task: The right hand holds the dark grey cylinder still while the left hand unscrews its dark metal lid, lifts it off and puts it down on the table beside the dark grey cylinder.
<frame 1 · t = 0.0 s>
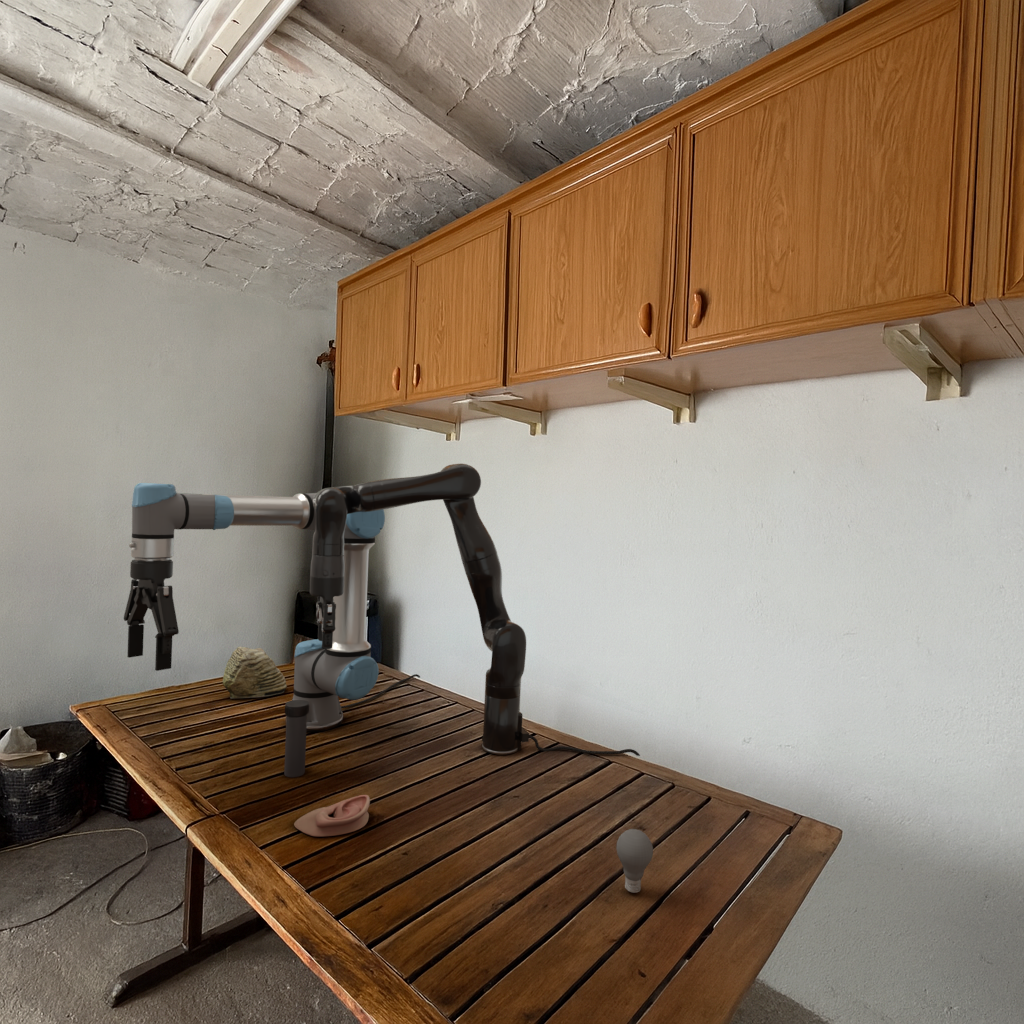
left hand: (148, 662, 129), 28 cm above the table, tool pointing down, fingers open, 13 cm apart
right hand: (324, 644, 146), 29 cm above the table, tool pointing down, fingers open, 8 cm apart
lid: (297, 704, 144), point 16 cm above the table, screwed on, not yet turned
dark grey cylinder: (294, 773, 144), on the table
anatomical model: (332, 823, 123), on the table
light bulb: (632, 891, 106), on the table
fossil: (254, 694, 198), on the table
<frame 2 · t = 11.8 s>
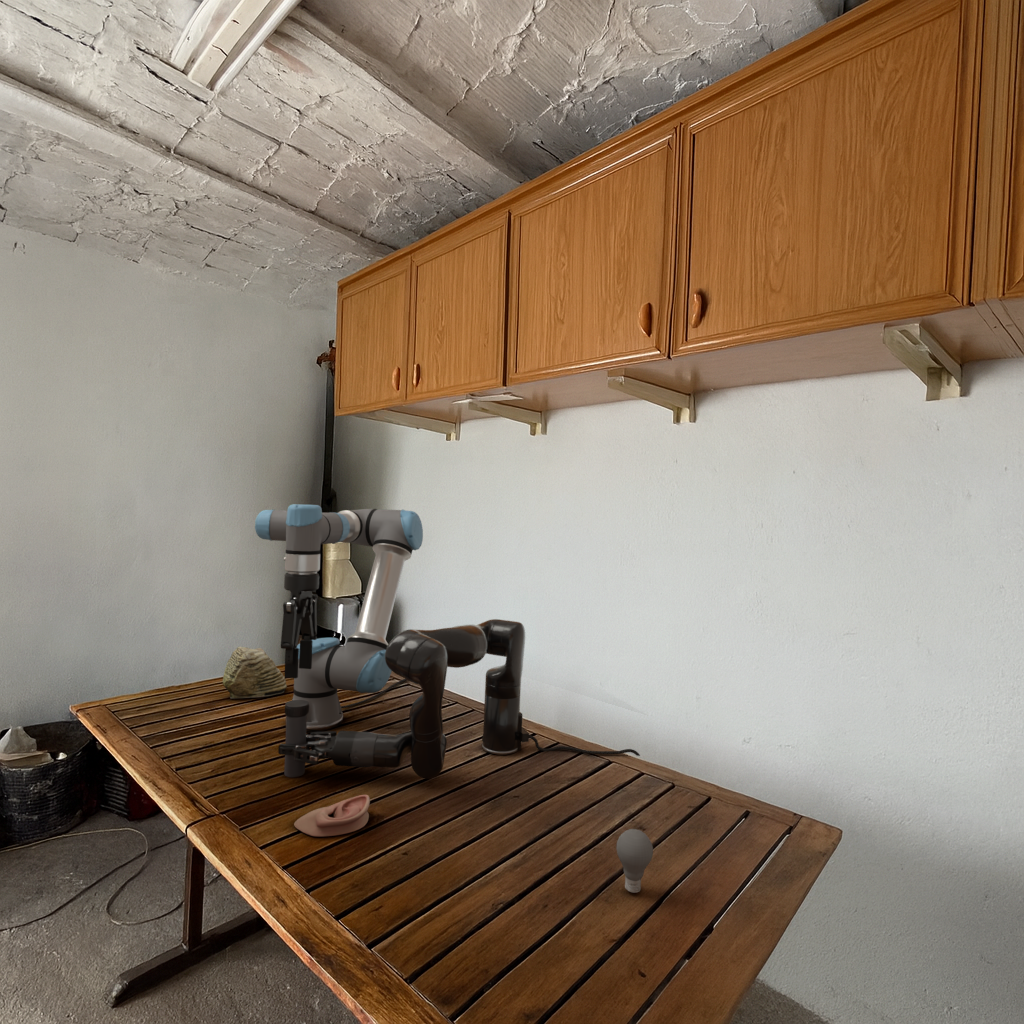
left hand: (298, 672, 144), 23 cm above the table, tool pointing down, fingers open, 7 cm apart
right hand: (284, 744, 144), 6 cm above the table, tool horizontal, fingers closed on dark grey cylinder, 4 cm apart
dark grey cylinder: (294, 773, 144), on the table, touching right hand
everything else where it was.
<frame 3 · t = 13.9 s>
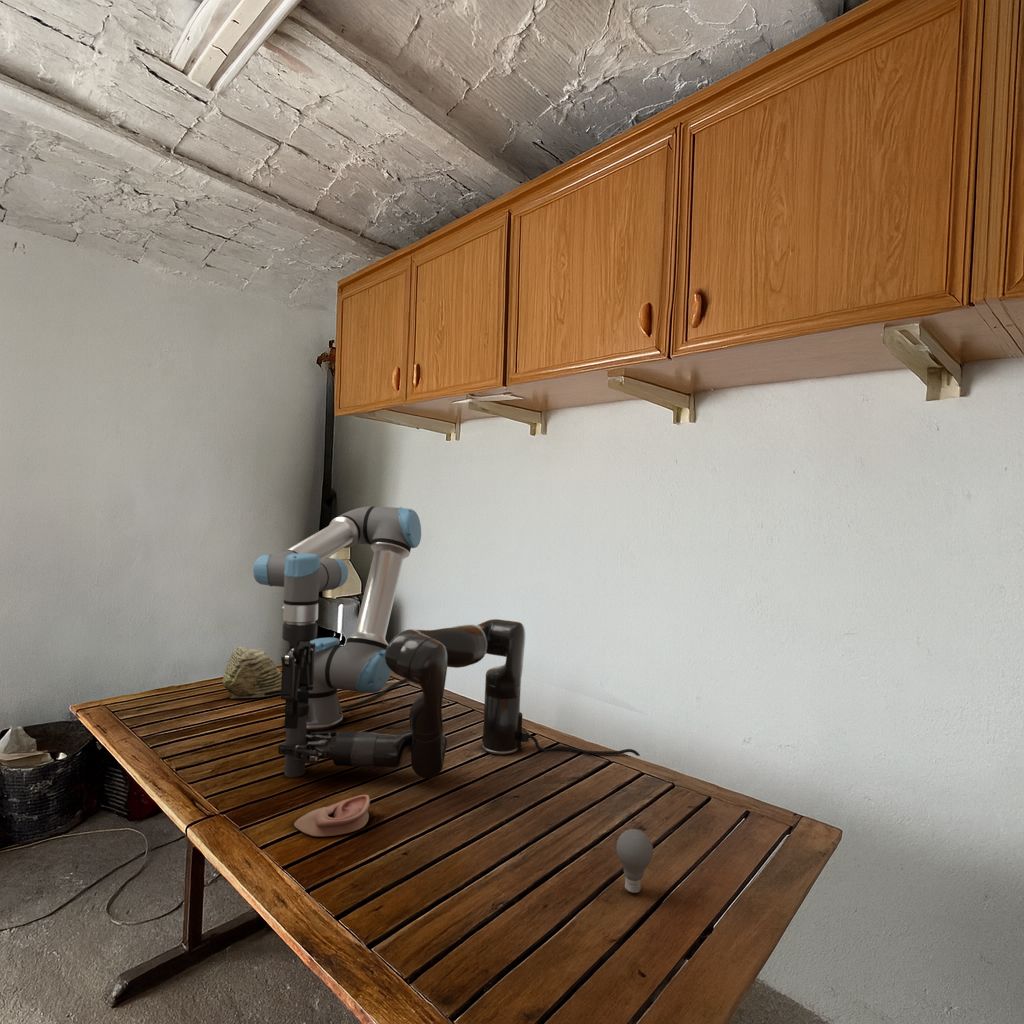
left hand: (296, 723, 144), 11 cm above the table, tool pointing down, fingers closed on lid, 5 cm apart
right hand: (284, 744, 144), 6 cm above the table, tool horizontal, fingers closed on dark grey cylinder, 4 cm apart
lid: (297, 704, 144), point 16 cm above the table, screwed on, not yet turned, touching left hand
dark grey cylinder: (294, 773, 144), on the table, touching right hand
everything else where it was.
when the left hand's fingers open (12 cm above the table, at t = 15.0 s): lid stays where it is, point 16 cm above the table.
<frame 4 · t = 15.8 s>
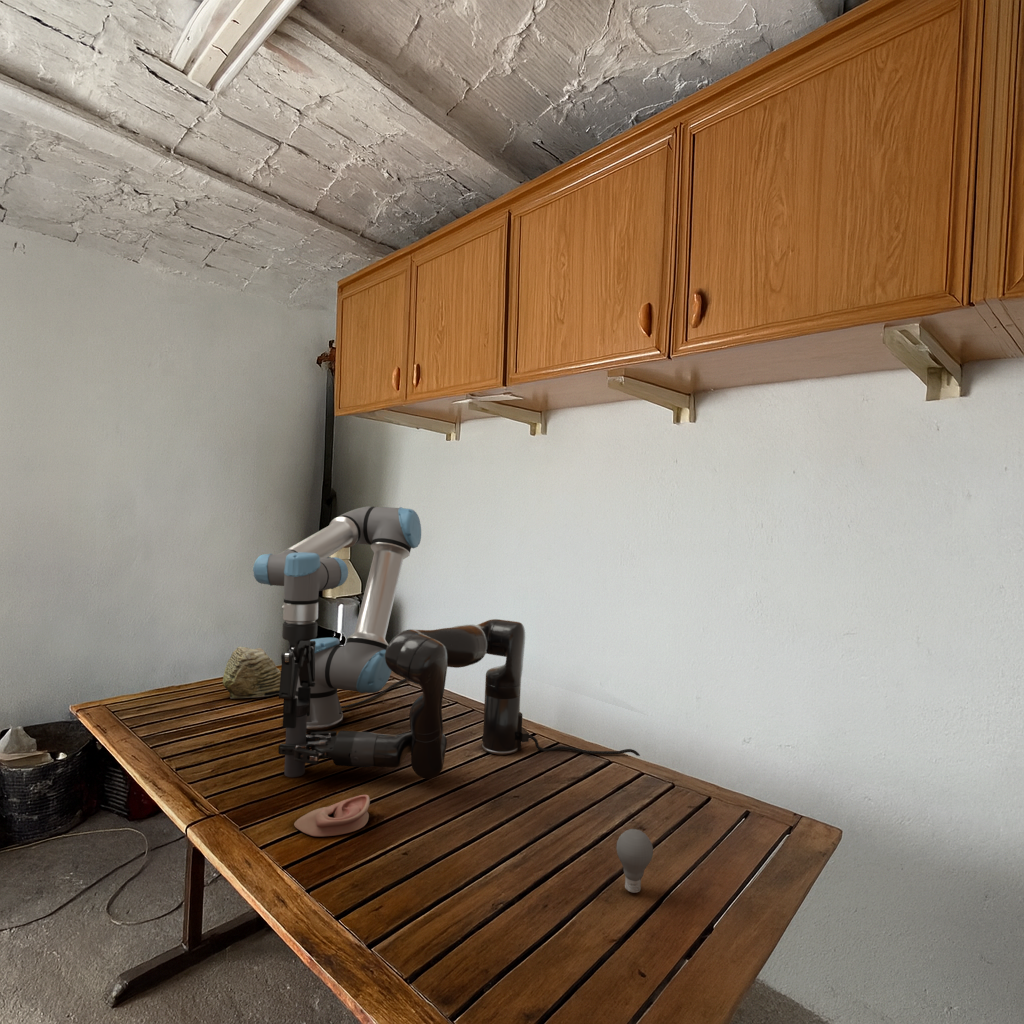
left hand: (296, 721, 144), 12 cm above the table, tool pointing down, fingers open, 7 cm apart
right hand: (284, 744, 144), 6 cm above the table, tool horizontal, fingers closed on dark grey cylinder, 4 cm apart
lid: (297, 703, 144), point 16 cm above the table, turned 65° so far, risen 0.2 cm, still on its thread
dark grey cylinder: (294, 773, 144), on the table, touching right hand
everything else where it was.
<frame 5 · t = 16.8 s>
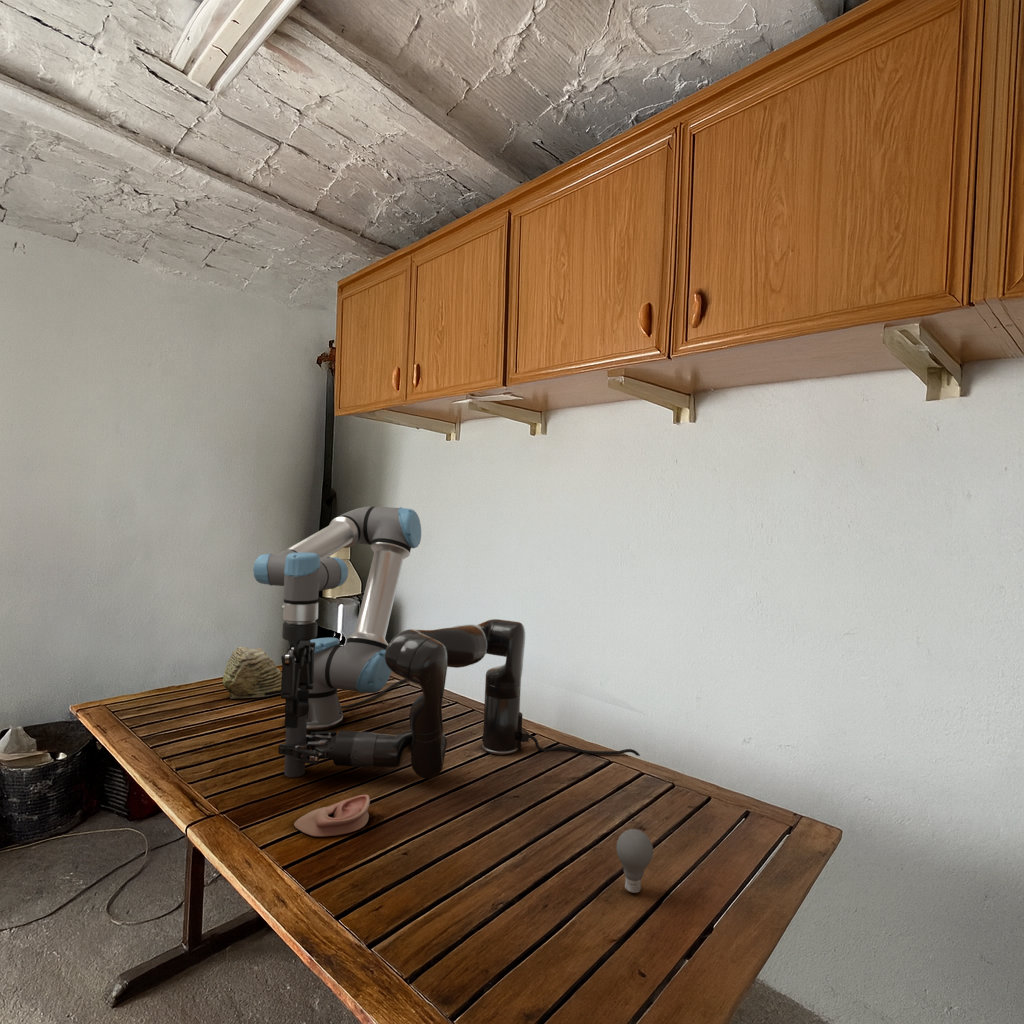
left hand: (296, 722, 144), 12 cm above the table, tool pointing down, fingers closed on lid, 5 cm apart
right hand: (284, 744, 144), 6 cm above the table, tool horizontal, fingers closed on dark grey cylinder, 4 cm apart
lid: (297, 704, 144), point 16 cm above the table, turned 65° so far, risen 0.2 cm, still on its thread, touching left hand
dark grey cylinder: (294, 773, 144), on the table, touching right hand
everything else where it was.
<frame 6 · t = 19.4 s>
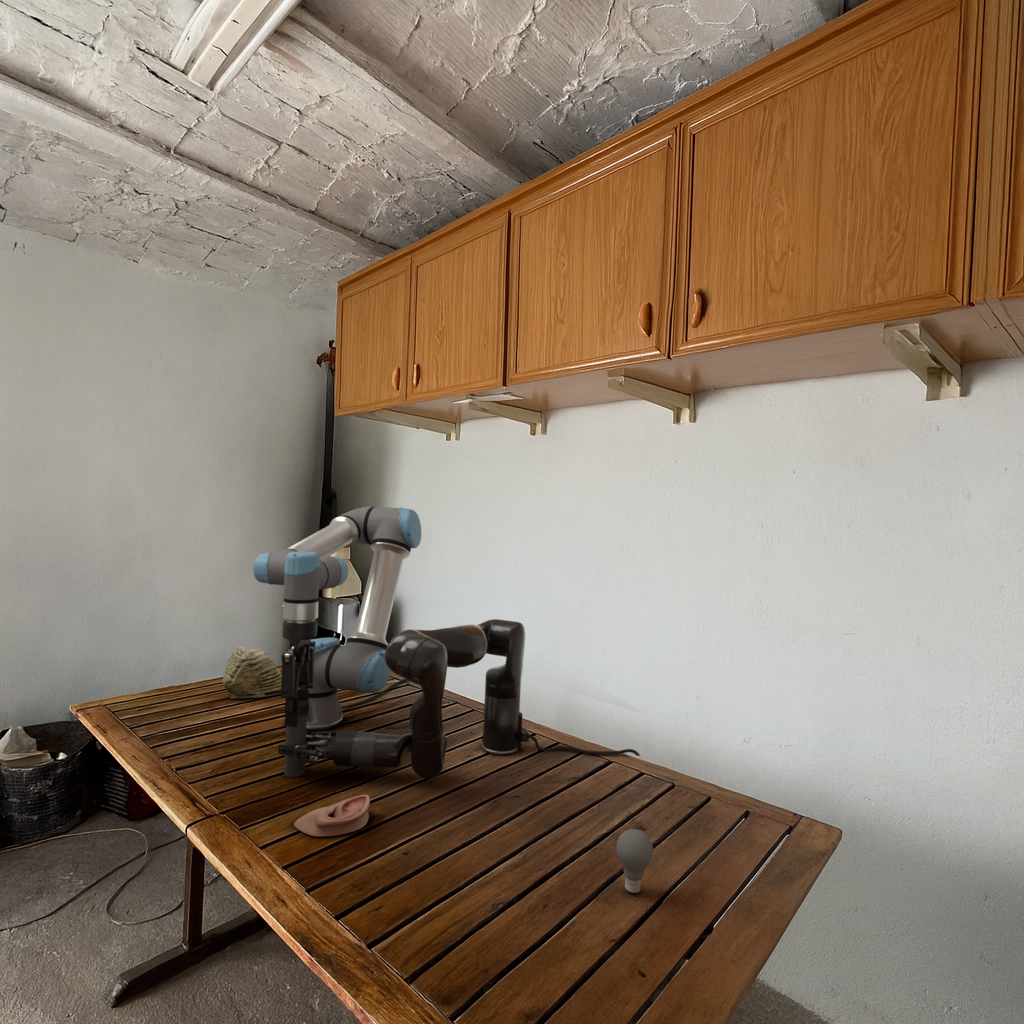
left hand: (296, 721, 144), 12 cm above the table, tool pointing down, fingers closed on lid, 5 cm apart
right hand: (284, 744, 144), 6 cm above the table, tool horizontal, fingers closed on dark grey cylinder, 4 cm apart
lid: (297, 703, 144), point 16 cm above the table, turned 131° so far, risen 0.4 cm, still on its thread, touching left hand
dark grey cylinder: (294, 773, 144), on the table, touching right hand
everything else where it was.
when the left hand's fingers open (0 cm above the table, at t = 25.6 s): lid drops 2 cm, point 2 cm above the table.
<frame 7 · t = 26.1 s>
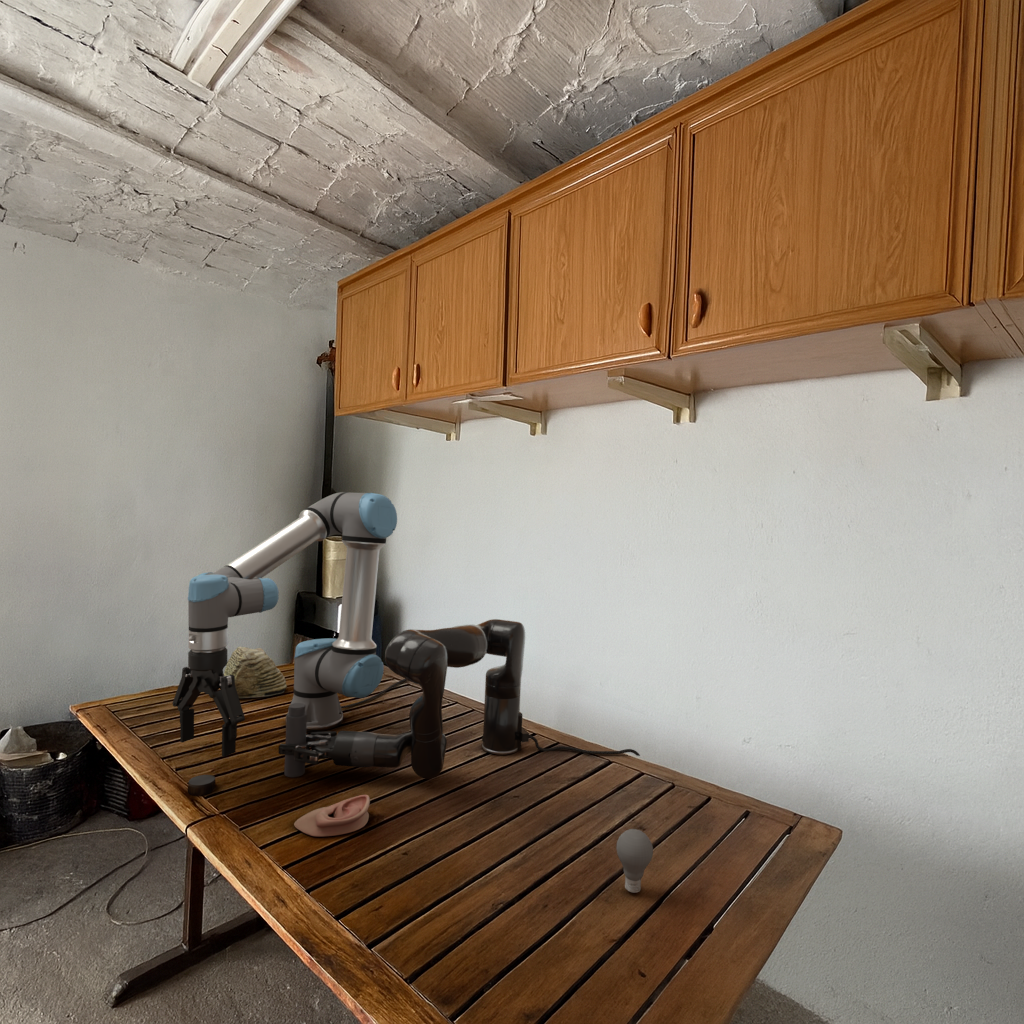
left hand: (207, 747, 135), 9 cm above the table, tool pointing down, fingers open, 13 cm apart
right hand: (284, 744, 144), 6 cm above the table, tool horizontal, fingers closed on dark grey cylinder, 4 cm apart
lid: (201, 781, 134), point 2 cm above the table, off its thread
dark grey cylinder: (294, 773, 144), on the table, touching right hand
everything else where it was.
when the right hand's fingers open (6 cm above the table, at t = 26.2 s): dark grey cylinder stays where it is, on the table.
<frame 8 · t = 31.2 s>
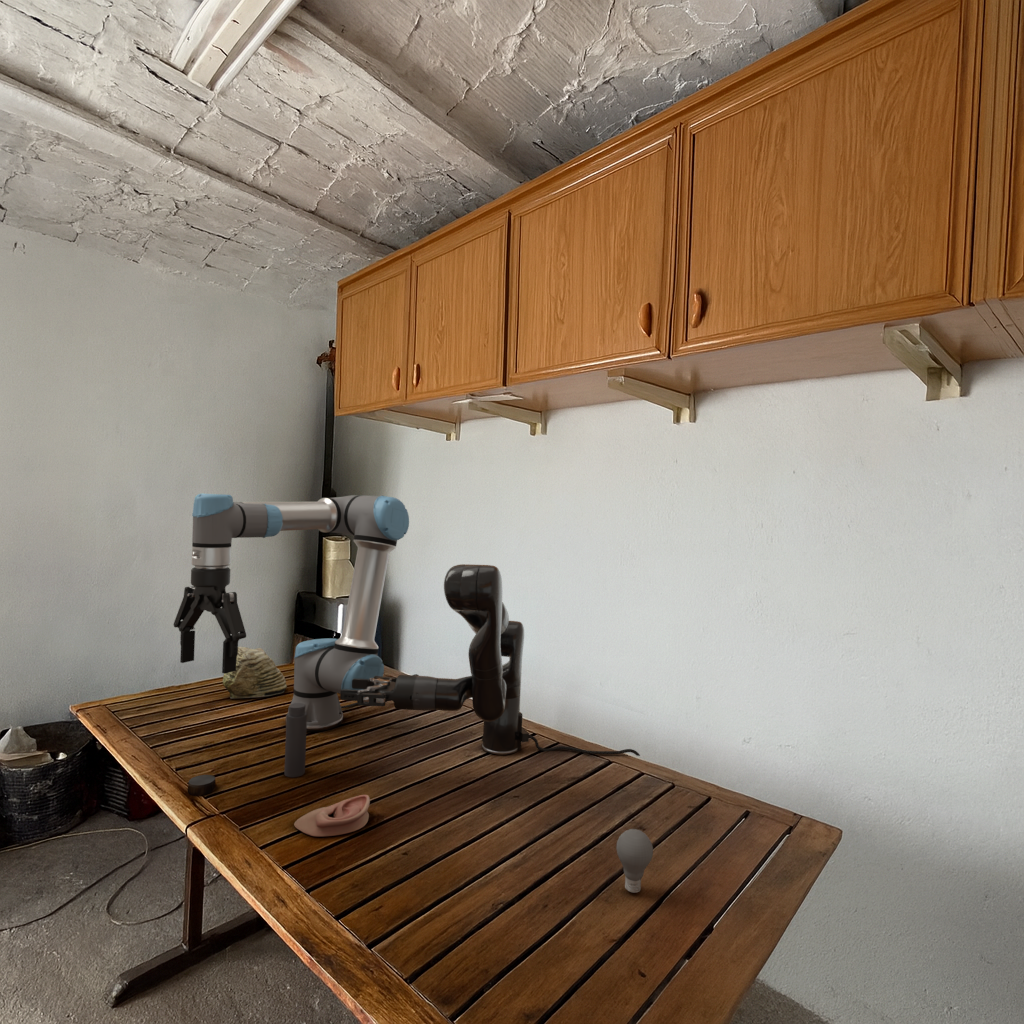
left hand: (207, 666, 134), 26 cm above the table, tool pointing down, fingers open, 13 cm apart
right hand: (346, 688, 144), 20 cm above the table, tool horizontal, fingers open, 8 cm apart
dark grey cylinder: (294, 773, 144), on the table
everything else where it was.
at the end: lid came off its thread; lid point 1.9 cm above the table; the left hand is holding nothing; the right hand is holding nothing; dark grey cylinder tilted 0°; dark grey cylinder moved 0.0 cm from its start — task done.
